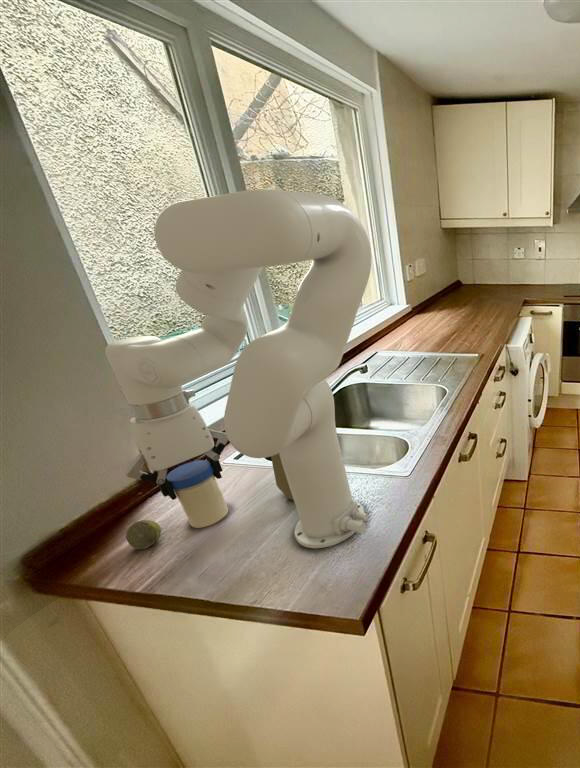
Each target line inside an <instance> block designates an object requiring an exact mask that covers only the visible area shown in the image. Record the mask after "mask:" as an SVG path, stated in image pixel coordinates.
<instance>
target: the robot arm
mask: <svg viewBox="0 0 580 768" xmlns="http://www.w3.org/2000/svg"><path fill="white" fill-rule="evenodd" d="M366 231H367V230H366V229H365V227H364V225H363V224H362V222H361V220H360V219H359V218H358V216H357V215H356V214H355V213H354V212H353V210H352V209H350V208H349V207H348V206H347V205H346V204H344V203H343V202H342V201H340V200H338V199H336V198H335V197H331V196H328V195H326V194H322V193H317V192H307V191H292V190H282V189H281V190H279V189H267V188H265V189H262V188H261V189H260V188H259V189H247V190H242V191H241V190H239V191H235V192H229V193H224V194H218V195H212V196H207V197H200V198H193V199H187V200H185V199H184V200H180V201H176V202H173V203H170V204H169V205H166V207H164V208H163V209H162V210H161V212H160V213H159V214H158V215H157V217H156V220H155V223H154V227H153V235H154V236H153V237H154V240H155V244H156V246H157V249H158V250H159V252H160V253H161V256H162V257H163V258H164V259H165V260H166V261H167V262H168V264H171V265H172V266H174V268H177V269H179V270H180V272H179V275H178V277H177V279H176V283H175V292H176V294H177V296H178V297H179V299H180V300H181V301H182V302H183V303H184V304H185V305H187V306H188V307H190V308H191V309H193V310H195V311H196V312H199V313H201V314H204V317H203V319H202V322H201V323H200V325H199V326H198V327H197V329H195V330H191V331H187V332H185V333H181V334H178V335H175V336H172V337H169V338H167V339H161V338H159V337H157V336H156V335H155V336H154V335H139V336H131V337H126V338H122V339H118V340H114V341H113V342H110V343H108V345H106V346H105V349H104V352H105V356H106V358H107V360H108V363H109V364H110V367H111V369H112V371H113V373H114V376H115V377H116V380H117V382H118V384H119V385H120V389H121V391H122V392H123V394H124V396H125V400H126V401H127V403H128V405H129V408H130V410H131V412H132V414H133V416H134V417H132V418H130V420H129V422H130V428H131V433H132V437H133V439H134V442H135V446H136V447H137V450H138V452H139V454H138V455H137V456H136V457H135V458H134V460H133V461H132V463H131V464H130V465H129V466H128V467H127V469H126V470H125V472H124V474H125V475H126V476H127V478H131V479H135V480H139V481H143V482H147V483H153V484H157V486H158V488H159V490H160V492H161V494H162V496H163V497H165V498H166V497H169V498H170V500H172V501H174V500H176V499H178V498H177V496H176V494H175V492H174V490H173V487H172V485H171V483H170V481H169V480H168V479H167V478H166V477H167V475H168V469H169V468H172V467H174V466H176V465H179V464H183V463H184V462H187V461H189V460H191V459H194V458H196V457H199V456H201V455H205V456H206V459H205V460H207V461H209V462H210V464H211V466H212V468H213V470H214V472H213V474H214V477H215V479H216V480H220V479H221V478H223V476H222V474H221V472H223V467H222V465H221V462H220V459H221V454H222V453H223V451H224V449H225V448H226V445H227V443H228V442H229V443H230V445H231V446H232V447H233V448H234V449H235V450H236V451H237V452H239V453H240V454H241V455H243V456H245V457H249V458H253V459H267V458H271V456H273V455H276V454H278V453H280V458H281V462H282V465H283V468H284V472H285V475H286V478H287V481H288V484H289V487H290V490H291V493H292V496H293V499H294V500H293V502H294V506H295V508H296V510H297V515H298V518H299V519H298V521H297V523H296V524H295V526H294V533H293V534H294V537H295V540H296V541H297V543H298V544H299V545H300V546H302V547H305V548H307V549H322V548H323V549H324V548H327V547H332V546H335V545H337V544H340V543H342V542H344V541H346V540H347V539H350V537H352V536H353V535H354V534H355V533H357V534H363V533H364V532H365V531H366V530H367V529H366V528H367V523H366V521H368V520H369V517H370V515H369V513H367V512H365V509H364V506H363V505H362V503H361V502H360V501H358V500H355V499H353V496H352V492H351V487H350V482H349V479H348V475H347V470H346V467H345V463H344V459H343V454H342V451H341V446H340V442H339V438H338V432H337V427H336V413H335V412H336V410H335V409H336V407H335V398H334V397H335V396H334V393H333V391H332V389H331V386H330V384H329V383H328V382H327V380H326V379H327V378H328V377H329V376H331V374H333V373H335V372H336V370H337V369H338V368H339V366H340V364H341V362H342V359H343V356H344V353H345V351H346V350H345V349H346V347H347V343H348V341H349V338H350V336H351V332H352V329H353V327H354V324H355V320H356V317H357V313H358V310H359V307H360V305H361V302H362V300H363V296H364V295H365V292H366V288H367V286H368V283H369V279H370V274H371V270H372V248H371V242H370V239H369V237H368V236H369V235H368V234H367V232H366ZM307 261H311V264H310V266H309V267H310V268H308V270H307V272H306V273H305V275H304V276H303V279H302V280H301V282H300V283H299V285H298V288H297V290H296V293H295V297H294V301H293V305H292V309H291V311H290V314H289V317H288V318H287V320H286V322H285V323H284V324H283V325H281V326H280V327H278V328H276V329H274V330H272V331H269V332H267V333H264V334H262V335H260V336H258V337H256V338H255V339H253V340H252V341H250V342H249V343H247V345H246V346H245V347H244V348H243V349H242V350H241V352H240V353H239V355H238V357H237V359H236V362H235V365H234V369H233V372H232V377H231V382H230V386H229V391H228V396H227V400H226V405H225V409H224V415H223V428H224V431H220V430H216V429H211V428H208V426H207V423H206V422H205V420H204V418H203V417H202V415H201V413H200V411H199V410H198V409H197V407H196V406H195V405H194V404H193V402H191V401H190V399H192V398H194V397H196V393H195V391H194V390H193V389H189V390H187V389H186V390H185V389H183V385H185V384H188V383H190V382H192V381H194V380H197V379H199V378H200V377H203V376H204V375H207V374H210V373H211V372H214V371H216V370H219V369H220V368H223V367H224V366H226V365H227V364H229V362H231V361H232V360H233V358H234V357H235V356H236V354H237V353H238V351H239V350H240V348H241V346H242V344H243V342H244V340H245V338H246V336H247V333H248V318H247V315H246V312H245V310H244V308H243V307H244V305H245V303H246V301H247V299H248V297H249V295H250V294H251V291H252V289H253V288H254V285H255V283H256V282H257V280H258V278H259V276H260V274H261V272H262V271H263V269H264V268H268V267H277V266H285V265H290V264H291V265H292V264H296V263H302V262H307ZM214 439H217V441H216V442H215V441H214ZM144 465H146V466H148V467H149V468H150V470H152V472H149V471H142V470H141V469H142V468H143V467H144Z"/></svg>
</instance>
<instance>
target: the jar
mask: <svg viewBox="0 0 580 768" xmlns="http://www.w3.org/2000/svg"><path fill="white" fill-rule="evenodd" d="M173 490H174V492H175V494H176V496H177V498H176V499H177V501H178V502H179V503H180V506H181V508H182V510H183V512H184V514H185V516H186V518H187V520H188V522H189V524H190V526H191V527H192V528H195V529H201V528H205V527H209V526H212V525H214V524H216V523H218V522H219V521H221V520H222V519H223V518H226V516H227V514H228V513H229V507H228V505H227V502H226V500H225V497H224V496H223V492H222V491H221V489H220V486H219V484H218V482H217V478H216V477H215V476H214V474H212V475H211V476H210V477H209V478H208V479H207V480H205V481H204V482H202V483H200V484H198V485H195V486H192V487H189V488H185V489H173Z"/></svg>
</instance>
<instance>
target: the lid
mask: <svg viewBox="0 0 580 768" xmlns="http://www.w3.org/2000/svg"><path fill="white" fill-rule="evenodd" d="M213 472H214V470H213V468H212V466H211V464H210V462H209V461H207V460H206V459H199V460H194V461H189V462H186V463H184V464H181V465H179V466H177V467H175V468H173V470H171V471H170V472H168V473H167V474H166V478H167V479H168V480H169V481H170V483H171V485H172V487H173V489H185V488H189V487H192V486H195V485H198V484H200V483H202V482H204V481H205V480H207V479H208V478H209V477H210V476H211V475H212V474H213Z"/></svg>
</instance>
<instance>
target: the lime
mask: <svg viewBox="0 0 580 768" xmlns="http://www.w3.org/2000/svg"><path fill="white" fill-rule="evenodd" d="M161 534H162V528H161V526H160V525H159V524H158V523H157V522H156V521H153V520H150V519H142V520H138V521H135V522H134V523H133V524H131V525H130V526H129V527H128V529H127V531H126V534H125V539H126V541H127V543H128V545H129V546H131V548H134V549H136V550H144V549H148V548H149V547H151V546H152V545H154V544H156V543H157V542H158V540H159V539H160V537H161Z"/></svg>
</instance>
